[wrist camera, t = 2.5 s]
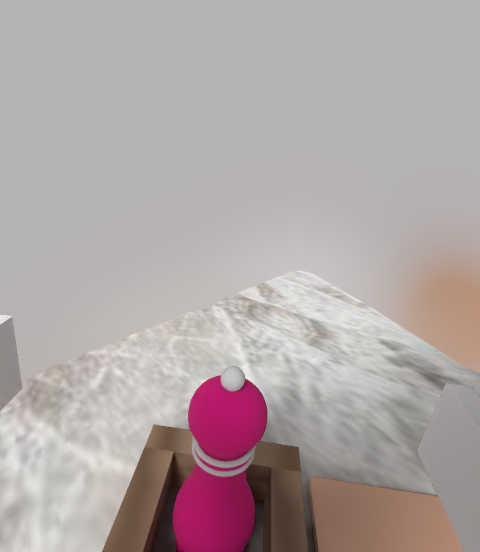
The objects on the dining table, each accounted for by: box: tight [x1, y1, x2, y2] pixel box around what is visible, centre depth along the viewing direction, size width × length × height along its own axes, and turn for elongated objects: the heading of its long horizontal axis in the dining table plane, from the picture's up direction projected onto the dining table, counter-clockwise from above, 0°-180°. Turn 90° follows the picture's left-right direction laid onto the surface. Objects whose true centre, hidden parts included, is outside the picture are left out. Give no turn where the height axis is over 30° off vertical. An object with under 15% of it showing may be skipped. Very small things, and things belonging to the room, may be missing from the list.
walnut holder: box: [102, 425, 308, 552], centre depth 31 cm, size 16×16×5 cm
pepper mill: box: [173, 366, 267, 552], centre depth 28 cm, size 7×7×20 cm
